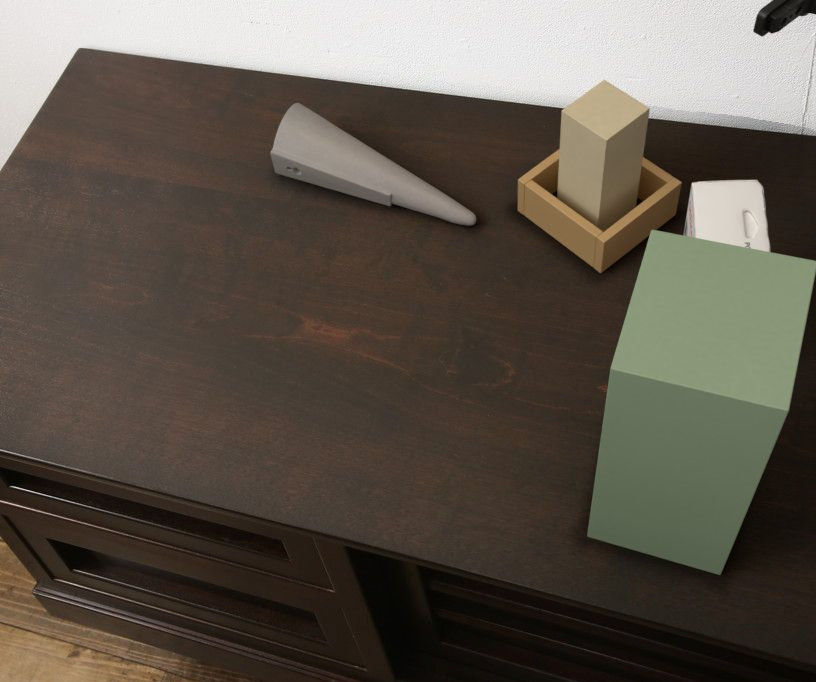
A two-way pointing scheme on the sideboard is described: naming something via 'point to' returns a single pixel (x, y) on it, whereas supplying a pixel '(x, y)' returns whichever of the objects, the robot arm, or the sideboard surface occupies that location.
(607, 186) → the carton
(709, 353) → the stand
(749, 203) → the ink box
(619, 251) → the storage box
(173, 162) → the sideboard surface
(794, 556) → the sideboard surface
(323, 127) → the grey tapered cone
